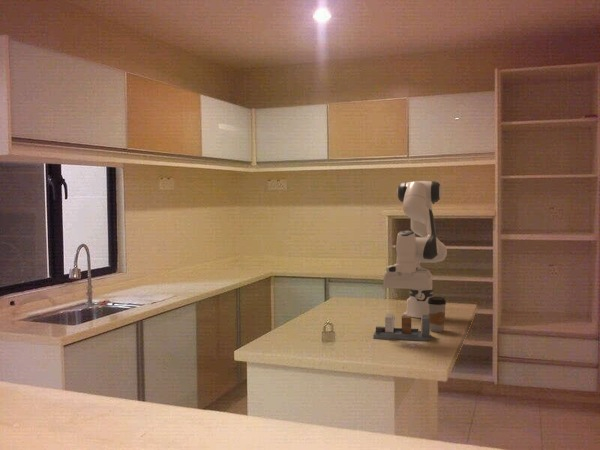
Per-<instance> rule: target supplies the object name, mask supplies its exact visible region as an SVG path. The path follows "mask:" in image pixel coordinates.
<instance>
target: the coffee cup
mask: <svg viewBox="0 0 600 450" xmlns="http://www.w3.org/2000/svg"><path fill="white" fill-rule="evenodd" d="M446 304H447V302H446V299H445V297H441V296H440V297H439V296H433V297H430V298H429V300H428V310H429V315H430V331H431V332H436V333H441V332H444V330H445V321H446V319H445V318H446Z"/></svg>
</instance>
